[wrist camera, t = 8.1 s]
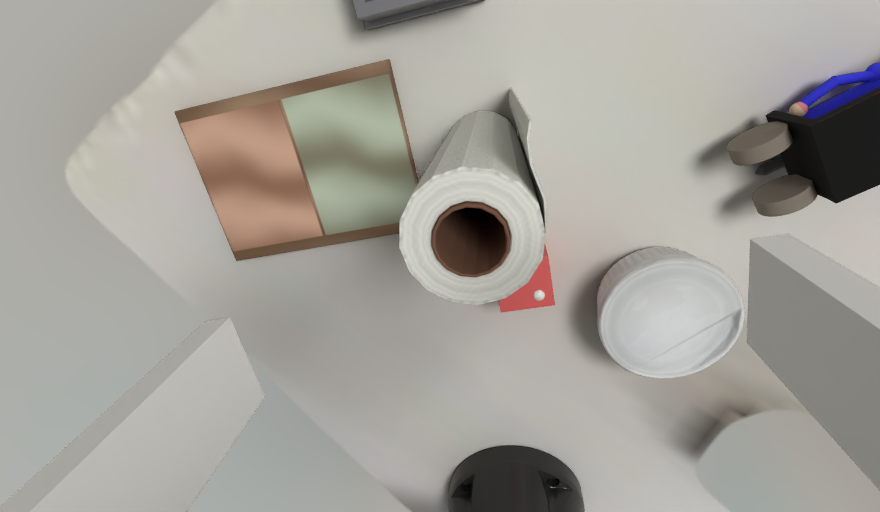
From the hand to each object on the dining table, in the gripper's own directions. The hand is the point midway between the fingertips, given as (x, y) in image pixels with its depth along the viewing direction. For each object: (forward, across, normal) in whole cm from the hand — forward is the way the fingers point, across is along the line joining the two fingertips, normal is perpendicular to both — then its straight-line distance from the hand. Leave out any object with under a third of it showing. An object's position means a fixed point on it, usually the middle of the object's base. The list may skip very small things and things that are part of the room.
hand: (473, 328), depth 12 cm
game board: (+28, +16, -1) cm, 33 cm away
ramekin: (+29, -12, +16) cm, 35 cm away
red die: (+28, -1, +11) cm, 31 cm away
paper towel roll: (+29, 0, 0) cm, 29 cm away
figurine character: (+29, -25, +3) cm, 38 cm away
